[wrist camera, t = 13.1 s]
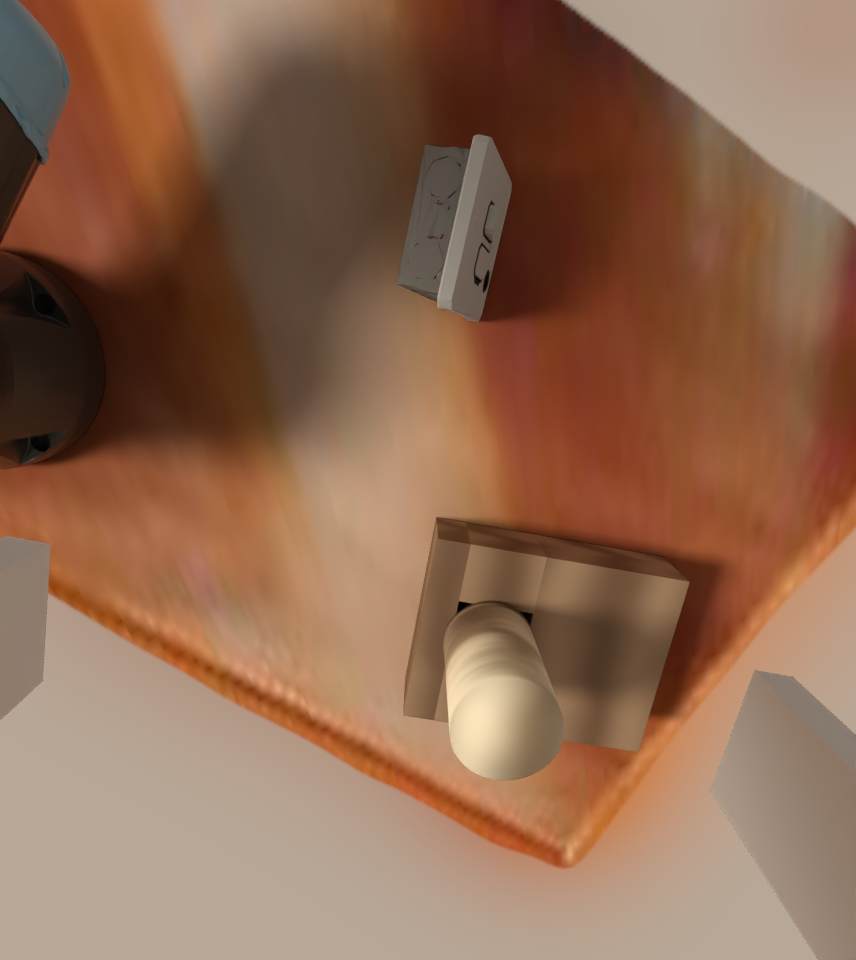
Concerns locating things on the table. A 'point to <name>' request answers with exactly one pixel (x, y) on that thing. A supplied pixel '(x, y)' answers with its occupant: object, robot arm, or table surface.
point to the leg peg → (499, 693)
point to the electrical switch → (456, 226)
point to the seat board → (555, 622)
